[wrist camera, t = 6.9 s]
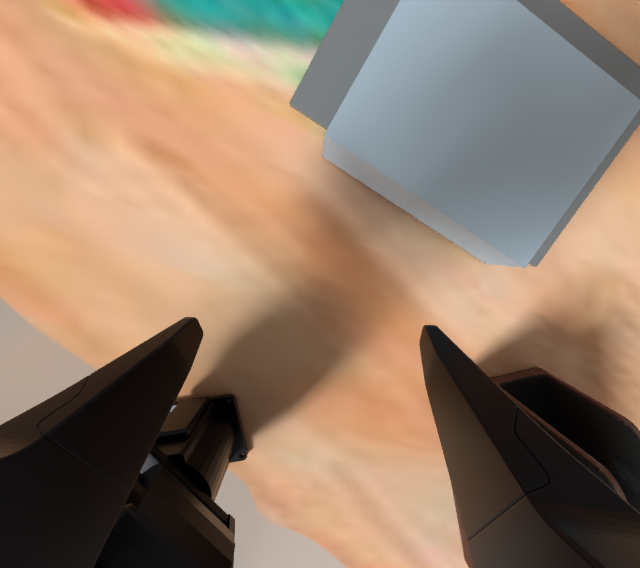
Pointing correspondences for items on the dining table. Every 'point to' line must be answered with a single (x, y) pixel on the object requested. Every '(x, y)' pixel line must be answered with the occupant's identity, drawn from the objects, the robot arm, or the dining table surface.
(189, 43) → the dining table surface
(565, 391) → the letter holder
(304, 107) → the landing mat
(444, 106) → the blue slab
